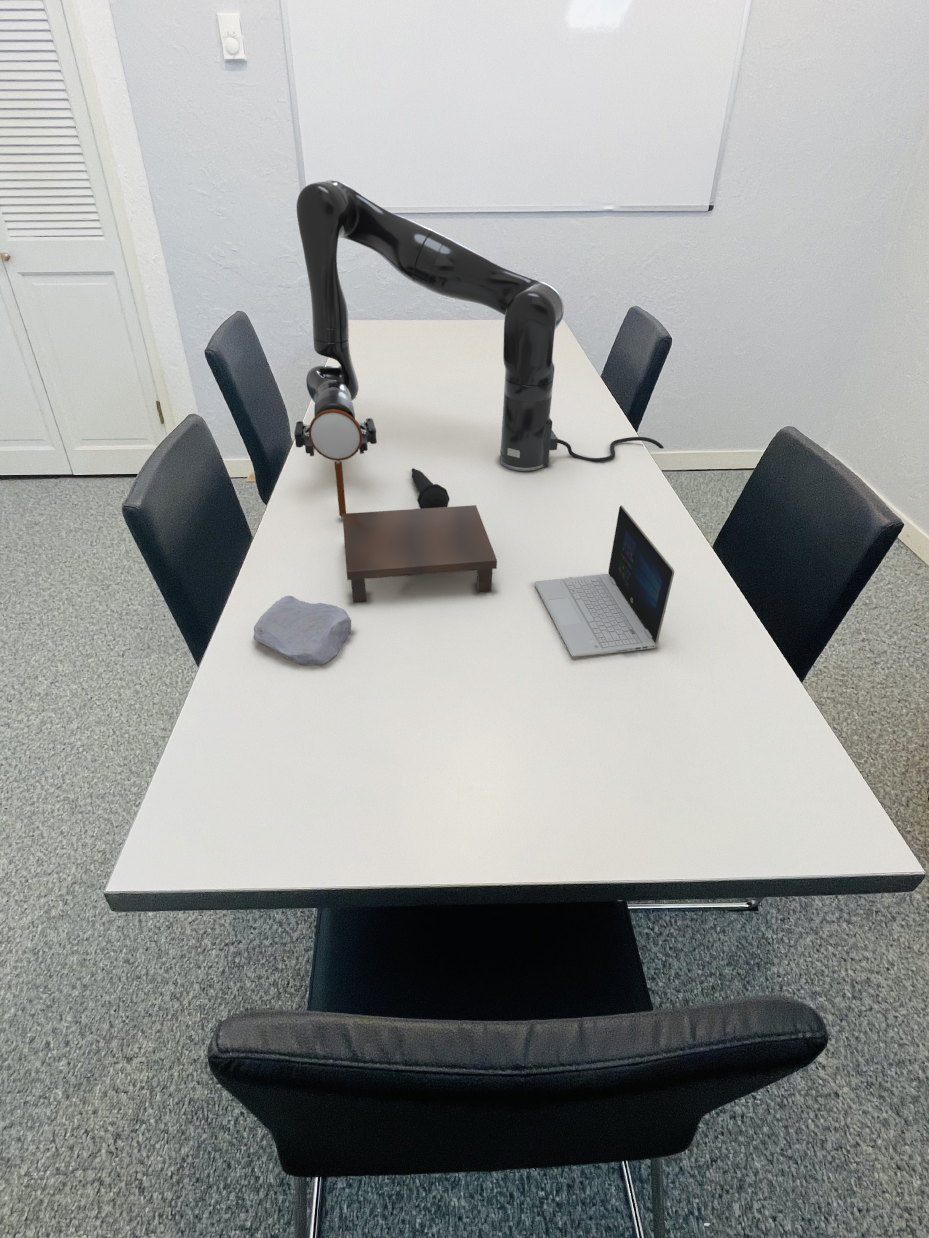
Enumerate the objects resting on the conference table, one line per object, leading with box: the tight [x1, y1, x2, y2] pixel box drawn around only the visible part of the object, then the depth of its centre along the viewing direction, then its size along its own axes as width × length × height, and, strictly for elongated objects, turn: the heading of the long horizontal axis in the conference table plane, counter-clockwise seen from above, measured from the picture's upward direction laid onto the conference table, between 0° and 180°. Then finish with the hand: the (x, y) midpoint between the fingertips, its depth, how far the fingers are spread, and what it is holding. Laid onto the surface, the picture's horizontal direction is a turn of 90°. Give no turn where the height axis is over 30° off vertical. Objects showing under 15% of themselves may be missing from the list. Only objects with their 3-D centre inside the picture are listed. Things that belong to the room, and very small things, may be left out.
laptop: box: [533, 505, 675, 657], centre depth 101 cm, size 18×13×13 cm
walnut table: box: [342, 504, 498, 604], centre depth 112 cm, size 22×17×6 cm
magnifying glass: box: [309, 409, 362, 521], centre depth 119 cm, size 9×2×20 cm, turn 89°
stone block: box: [253, 595, 352, 666], centre depth 98 cm, size 12×5×10 cm
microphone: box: [411, 467, 450, 509], centre depth 132 cm, size 6×6×20 cm
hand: (336, 449), depth 122 cm, fingers open, 8 cm apart
